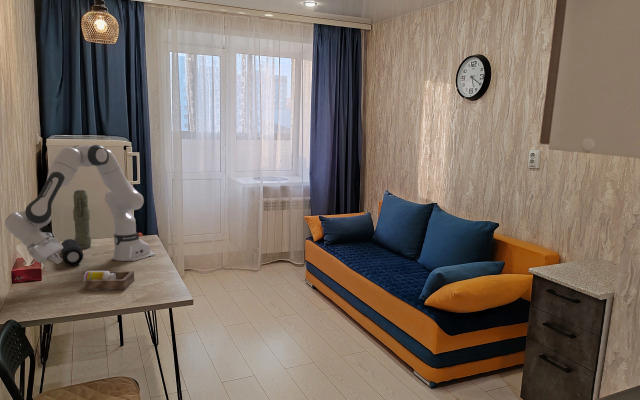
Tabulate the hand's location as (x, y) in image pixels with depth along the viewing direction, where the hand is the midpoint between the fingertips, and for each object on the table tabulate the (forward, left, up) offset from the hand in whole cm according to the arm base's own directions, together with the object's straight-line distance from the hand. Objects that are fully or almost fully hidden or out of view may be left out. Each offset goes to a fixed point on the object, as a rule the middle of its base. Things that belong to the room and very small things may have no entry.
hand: (60, 262), depth 221 cm
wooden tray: (-15, +15, -11) cm, 24 cm away
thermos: (-37, -62, -11) cm, 73 cm away
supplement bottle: (-8, +8, -7) cm, 13 cm away
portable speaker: (-21, -39, -12) cm, 46 cm away
